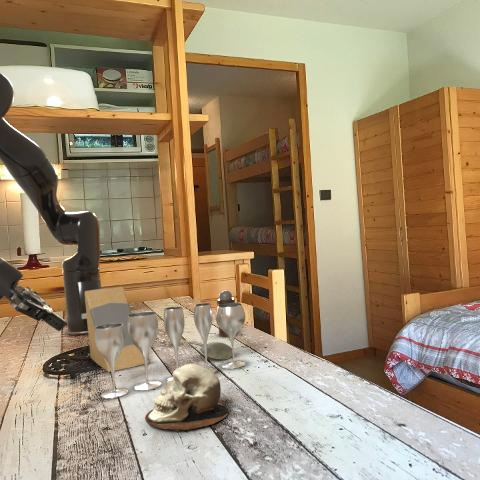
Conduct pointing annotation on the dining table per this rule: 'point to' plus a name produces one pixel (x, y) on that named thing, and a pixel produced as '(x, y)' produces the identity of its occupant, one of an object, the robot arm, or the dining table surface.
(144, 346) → the goblet set
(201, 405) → the skull
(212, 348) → the soupspoon
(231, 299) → the pepper mill
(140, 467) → the dining table surface
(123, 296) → the sandwich container
